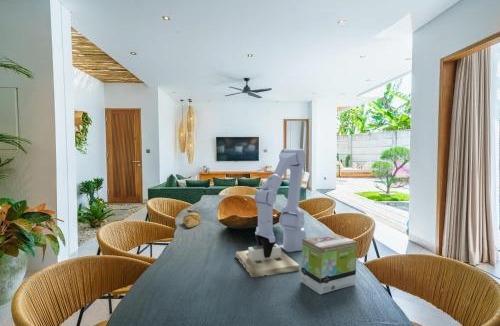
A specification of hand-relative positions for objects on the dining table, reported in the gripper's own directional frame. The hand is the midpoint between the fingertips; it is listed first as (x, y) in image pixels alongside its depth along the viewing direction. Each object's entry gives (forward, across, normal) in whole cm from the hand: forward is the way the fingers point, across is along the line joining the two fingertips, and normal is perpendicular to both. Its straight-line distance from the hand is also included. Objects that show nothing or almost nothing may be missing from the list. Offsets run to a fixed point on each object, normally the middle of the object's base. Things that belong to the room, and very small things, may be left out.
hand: (265, 255), depth 109 cm
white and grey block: (+3, 0, 0) cm, 3 cm away
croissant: (+3, -66, -19) cm, 69 cm away
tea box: (+3, +23, +13) cm, 26 cm away
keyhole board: (+3, +1, 0) cm, 3 cm away
